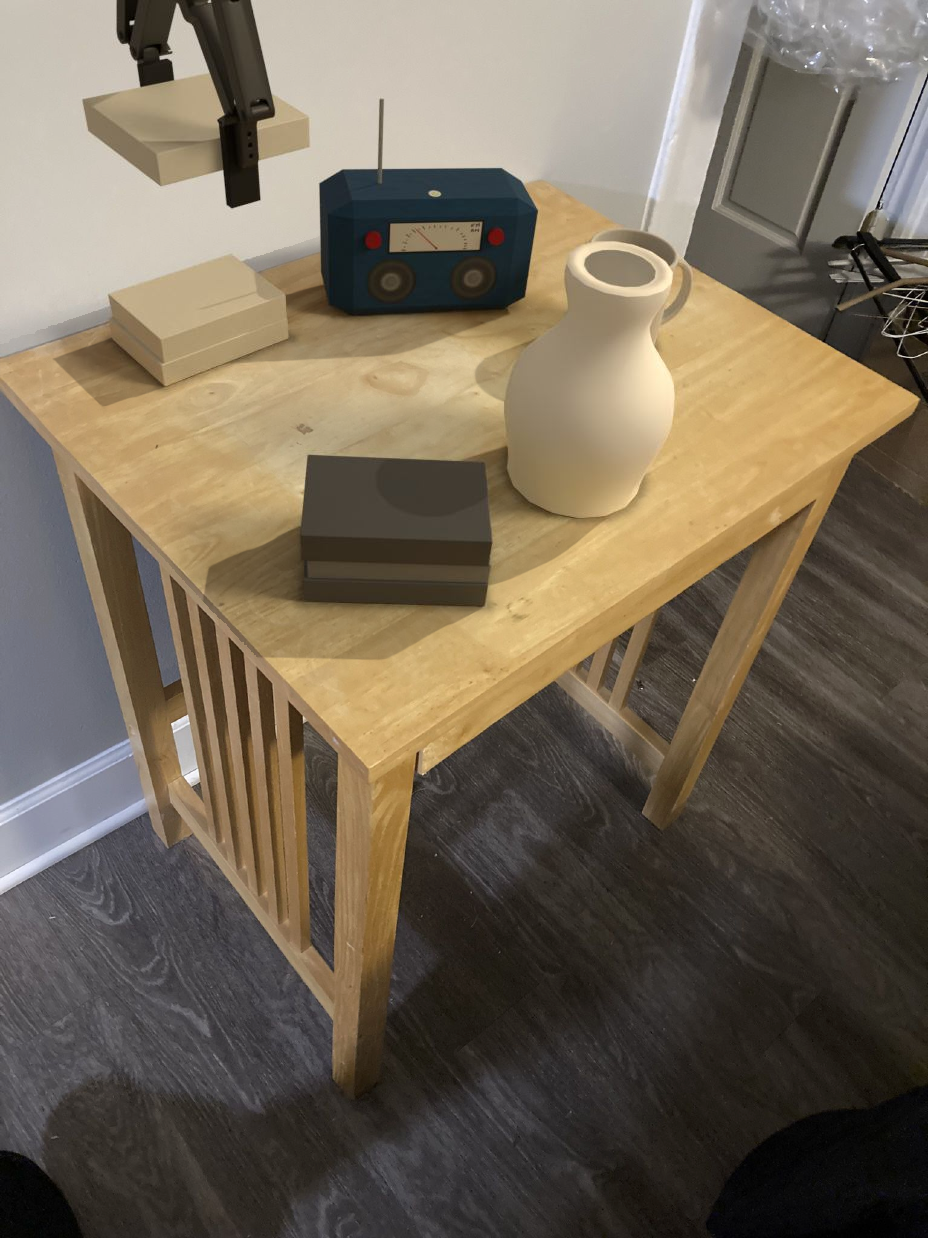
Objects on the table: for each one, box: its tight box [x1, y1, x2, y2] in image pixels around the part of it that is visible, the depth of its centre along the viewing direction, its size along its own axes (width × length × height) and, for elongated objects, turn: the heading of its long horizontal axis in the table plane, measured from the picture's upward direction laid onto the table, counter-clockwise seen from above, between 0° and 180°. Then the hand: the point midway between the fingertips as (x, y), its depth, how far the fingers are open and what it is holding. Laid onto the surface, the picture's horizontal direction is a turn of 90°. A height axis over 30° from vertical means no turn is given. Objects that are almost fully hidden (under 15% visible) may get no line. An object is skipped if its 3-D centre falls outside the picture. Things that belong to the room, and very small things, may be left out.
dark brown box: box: [299, 454, 493, 607], centre depth 75 cm, size 14×9×7 cm, turn 93°
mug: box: [588, 227, 694, 347], centre depth 99 cm, size 11×10×10 cm
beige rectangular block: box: [107, 253, 289, 387], centre depth 94 cm, size 14×10×5 cm
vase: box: [503, 241, 676, 519], centre depth 80 cm, size 14×14×20 cm
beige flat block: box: [81, 72, 311, 187], centre depth 77 cm, size 14×11×2 cm
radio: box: [318, 98, 539, 317], centre depth 97 cm, size 21×9×20 cm, turn 103°
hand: (203, 173), depth 80 cm, fingers closed on beige flat block, 11 cm apart
